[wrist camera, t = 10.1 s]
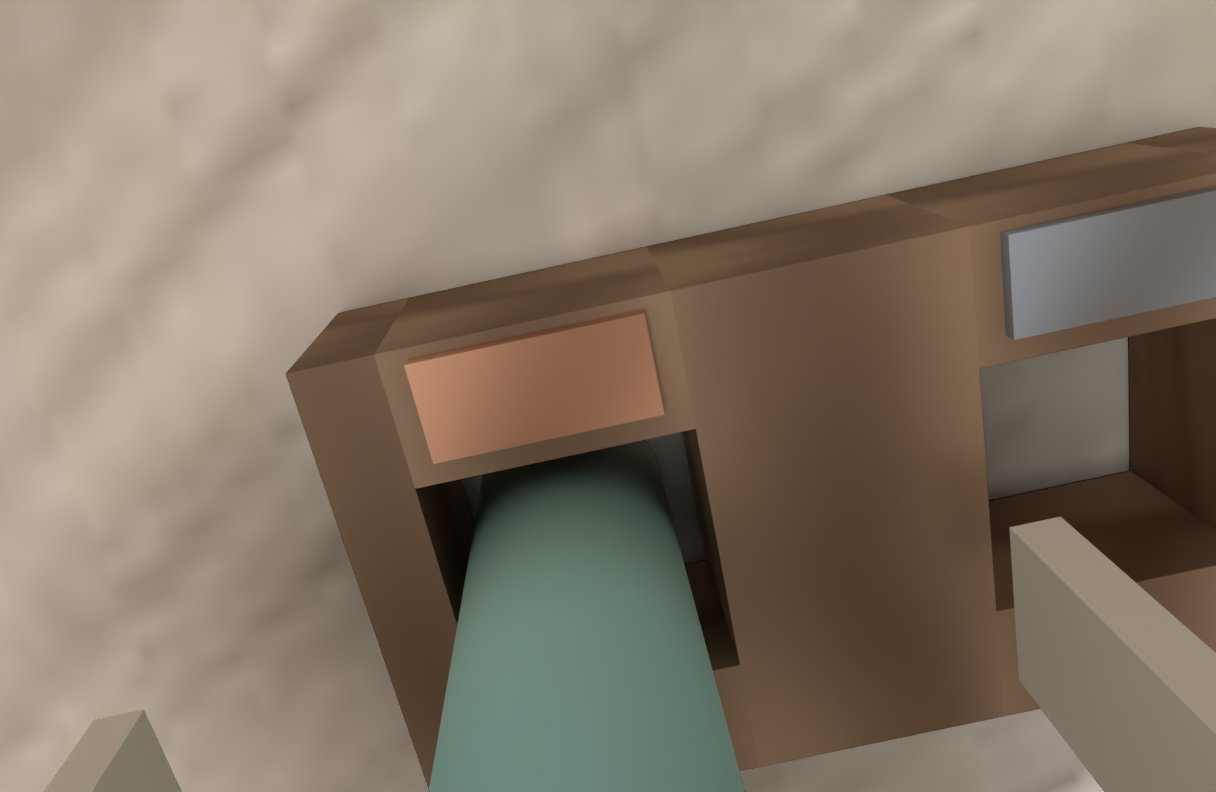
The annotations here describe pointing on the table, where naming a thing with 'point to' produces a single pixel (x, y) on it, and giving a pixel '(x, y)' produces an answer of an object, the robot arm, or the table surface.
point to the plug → (580, 641)
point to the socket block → (805, 431)
